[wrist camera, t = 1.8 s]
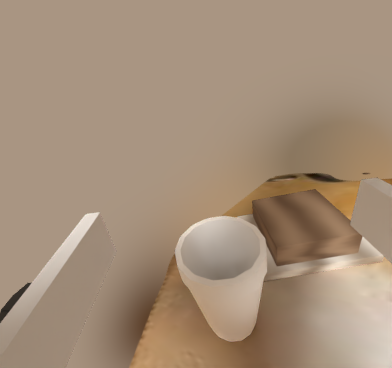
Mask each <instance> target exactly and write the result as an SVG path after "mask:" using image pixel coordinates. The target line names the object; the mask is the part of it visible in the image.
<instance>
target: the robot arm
mask: <svg viewBox="0 0 392 368" xmlns="http://www.w3.org/2000/svg"><path fill="white" fill-rule="evenodd" d="M350 225H351V226H352V227H353V228H354V229H355V230H356V231H357V232H358V233H359V234H361V235H362V236H363V237H364V238H365V239H366V240H367V241H368V242H369V243H370V244H371V245H372V246H373V247H374V248H376V249H377V250H378V251H379V252H380V253H381V254H382V255H383V256H384V257H385V258H386V259H387V260H388V261H390V262H391V263H392V185H390V184H388V183H387V182H385V181H383V180H381V179H379V178H370V179H362V180H361V182H360V186H359V190H358V194H357V198H356V202H355V206H354V210H353V214H352V218H351V222H350ZM115 254H116V249H115V247H114V244H113V242H112V240H111V237H110V235H109V232H108V230H107V228H106V225H105V223H104V221H103V218H102V216H101V213H100V212H99V213H91V214H86V215H85V216H84V217H83V218H82V220H81V221H80V222H79V224H78V225H77V226H76V227H75V229H74V230H73V231H72V232H71V234H70V235H69V236H68V238H67V239H66V240H65V241H64V243H63V244H62V245H61V246H60V248H59V249H58V250H57V252H56V253H55V254H54V255H53V257H52V258H51V259H50V261H49V262H48V263H47V264H46V266H45V267H44V268H43V269H42V271H41V272H40V273H39V275H38V276H37V277H36V278H35V280H34V281H33V282H32V283H27V284H26V285H25V286H24V287H23V288H21V289H20V290H19V291H18V292H17V293H15V294H14V295H13V296H12V297H11V299H10V300H9V301H8V302H7V303H6V305H5V306H4V307H3V308H2V309H1V312H0V368H66V366H67V363H68V361H69V359H70V356H71V354H72V352H73V350H74V347H75V345H76V343H77V340H78V338H79V336H80V334H81V331H82V329H83V327H84V324H85V322H86V320H87V318H88V315H89V313H90V311H91V308H92V306H93V304H94V302H95V299H96V297H97V294H98V293H99V290H100V288H101V285H102V283H103V281H104V279H105V276H106V274H107V272H108V270H109V268H110V265H111V263H112V261H113V258H114V256H115Z"/></svg>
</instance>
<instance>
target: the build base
mask: <svg viewBox="0 0 392 368" xmlns="http://www.w3.org/2000/svg"><path fill="white" fill-rule="evenodd" d="M252 205H253V214H249V215H244V216H238V217H237V218H241V219H243V220H245V221H247V222H249V223H251V224H253V225H255V226H256V227H257V228H258V230H259V231H260V232H261V234H262V235H263V236H264V238H265V240H266V252H267V273H266V275H265V277H264V280H263V281H269V280H275V279H281V278H287V277H293V276H299V275H305V274H311V273H318V272H324V271H330V270H336V269H342V268H348V267H354V266H360V265H366V264H372V263H378V262H382V260H383V258H384V256H383V255H382V254H381V253H380V252H379V251H378V250H377V249H376V248H374V247H373V246H372V245H371V244H370V243H369V242H368V241H367V240H366V239H365V238H364V237H363V236H362V235H361V234H359V233H358V232H357V231H356V230H355V229H354V228H353V227H352V226H351V225H350V222H351V221H350V220H349V219H348V218H347V217H346V216H345V215H343V214H342V213H341V212H340V211H339V210H338V209H337V208H336V207H335V206H333V205H332V204H331V203H330V202H329V201H328V200H327V199H326V198H325V197H323V196H322V195H321V194H320V193H319V192H318V191H317V190H316V189H314V190H308V191H303V192H297V193H292V194H286V195H281V196H275V197H270V198H264V199H259V200H253V201H252Z"/></svg>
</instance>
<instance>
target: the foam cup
mask: <svg viewBox="0 0 392 368" xmlns="http://www.w3.org/2000/svg"><path fill="white" fill-rule="evenodd" d="M175 255H176V261H177V267H178V270H179V273H180V276H181V279H182V282H183V283H184V284H185V285H186V286H187V287H188V288H189V290H190V292H191V294H192V295H193V297H194V299H195V301H196V302H197V304H198V306H199V308H200V310H201V311H202V313H203V315H204V317H205V318H206V320H207V322H208V324H209V326H210V327H211V329H212V330H213V331H214V332H215V333H216V335H217V336H218V337H219V338H222V339H224V340H226V341H229V342H234V341H242V340H243V339H245V338H246V337H247V336H249V335H250V334H251V333H252V331H253V329H254V326H255V324H256V320H257V315H258V309H259V303H260V298H261V292H262V286H263V280H264V277H265V275H266V273H267V252H266V240H265V238H264V236H263V235H262V234H261V232H260V231H259V230H258V228H257V227H256V226H255V225H253V224H251V223H249V222H247V221H245V220H243V219H241V218H235V217H228V216H220V217H213V218H207V219H205V220H203V221H200V222H198V223H196V224H194V225H192V226H191V227H190V228H189V229H188V230H187V231H186V232H184V233H183V234H182V236H180V239H179V241H178V244H177V246H176V249H175Z"/></svg>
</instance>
